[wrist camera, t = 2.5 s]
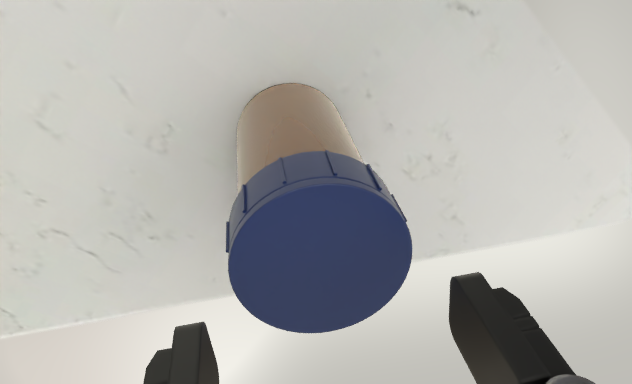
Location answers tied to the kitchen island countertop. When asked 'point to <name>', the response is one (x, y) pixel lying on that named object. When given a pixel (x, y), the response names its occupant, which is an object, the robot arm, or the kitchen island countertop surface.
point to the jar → (288, 128)
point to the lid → (316, 243)
